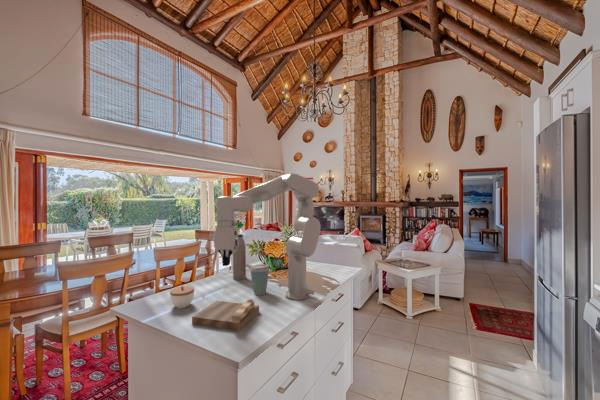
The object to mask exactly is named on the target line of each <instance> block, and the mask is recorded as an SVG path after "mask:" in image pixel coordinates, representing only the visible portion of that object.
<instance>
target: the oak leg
mask: <svg viewBox="0 0 600 400" xmlns="http://www.w3.org/2000/svg"><path fill="white" fill-rule="evenodd" d="M242 304H243V305H242V306H241V307H240V308H239V309H238V310H237V311H236V312H235V313H234V314H233V315H232V322H234V323H239V322H240V321H241V320H242V319H243V318H244V317H245V315H246V314H247V313H248V312H249V311H250V310H251V309H252V307H253V306H254V305H255V300H254V299H251V298H250V299H247V300H246V301H245V302H244V303H242Z"/></svg>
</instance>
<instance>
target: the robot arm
mask: <svg viewBox="0 0 600 400" xmlns="http://www.w3.org/2000/svg"><path fill="white" fill-rule="evenodd" d="M290 191H291V192H292V193H293V194H292V195H294V198H295V199H296V201H297V205H298V206H297V212H296V216H295V219H294V222H293V229H294V231H295V233H298V234H300V235H293V236H292V235H291V236H290V237H289V238H288V239H287V241H286V246H285V247H286V254H287V265H288V267H287V274H288V277H287V278H288V279H287V280H288V291H286V292H285V297H286V298H287V299H289V300H295V301H299V300H301V301H302V300H305V299H308V298H309V297H310V295H311V296H312V295H313V296H314V295H315V290H314V289H311V288H310V289H309V286H307V258H310V257H311V256H313V255H314V254H315V252H316V249H317V246H318V242H319V238H320V234H321V230H322V229H321V226H322V225H321V223H320V220H319V219H318V218H316V217H315V216H314V210H315V205H314V201H313V199H314V198H317V196H318V195H319V193H320V187H319V185H318V184H317V183H316V182H315V181H313V180H311V179H308V178H306V177H304V176H302V175H299V174H297V173H287V174H286V173H285V174H282V175H279V176H277V177H275V178H273V179H271V180H269V181H266V182H264V183H262V184H259V185H257V186H253V187H252V188H250V189H247V190H244V191H242V192H240V193H238V194H235V195H233V196H229V195H227V196H226V195H225V196H218V197H217V199H216V227H215V230H214V237H213V245H214V251H215V252H216V253H219V255H220V257H221V259H222V260H221V262H222V266H223V267H224V266H225V267H227V266H229V265H230V264H231V256H232V255H233V253H235V252H237V248H238V247H239V242H238V235H239V233H238V229H237V226H236V225H237V224H238V222H237V221H236V220H235V213H236V212H237V213H248V212H250V211H251V210H252V208H253V206H254V204H256V203H262V202H266V201H270V200H273V199H275V198H276V197H278V196H280V195H282V194H284V193H286V192H290Z"/></svg>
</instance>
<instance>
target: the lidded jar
mask: <svg viewBox="0 0 600 400" xmlns="http://www.w3.org/2000/svg"><path fill="white" fill-rule="evenodd" d="M169 293H170V301H171V304H172V305H173V306H174V307H175V308H176V307H177V308H176V309H185V308H187V307H189V306H190V305H191V303H192V302H193V300H194V298H195V297H194V296H195V287H193V286H191V285H190V286H189V285H188V286H184V285H183V286H182V285H181V286H178V287H175V288H172V289H171V290H170V291H169Z"/></svg>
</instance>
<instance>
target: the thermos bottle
mask: <svg viewBox="0 0 600 400" xmlns="http://www.w3.org/2000/svg"><path fill="white" fill-rule="evenodd" d="M238 242H239V247H238V248H237V252H235V253H232V279H233V280H234V281H242V280H245V279H246V278H247V275H246V274H247V270H246V269H247V266H246V263H247V262H246V259H247V257H246V250H247V249H246V242H245V239H244V235H243V234H238Z"/></svg>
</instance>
